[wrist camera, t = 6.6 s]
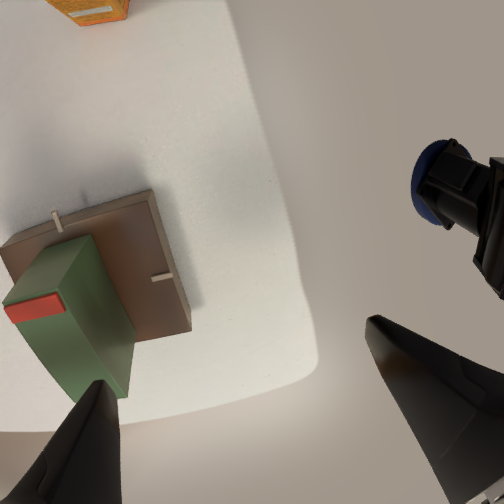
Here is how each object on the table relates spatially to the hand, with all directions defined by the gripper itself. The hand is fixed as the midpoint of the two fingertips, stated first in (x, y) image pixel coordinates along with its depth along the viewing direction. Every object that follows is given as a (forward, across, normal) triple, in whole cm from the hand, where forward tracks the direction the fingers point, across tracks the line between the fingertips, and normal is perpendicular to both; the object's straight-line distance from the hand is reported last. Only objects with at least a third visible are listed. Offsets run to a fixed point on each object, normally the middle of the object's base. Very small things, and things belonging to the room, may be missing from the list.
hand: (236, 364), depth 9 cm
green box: (+10, +9, +2) cm, 14 cm away
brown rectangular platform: (+13, +9, +2) cm, 16 cm away
